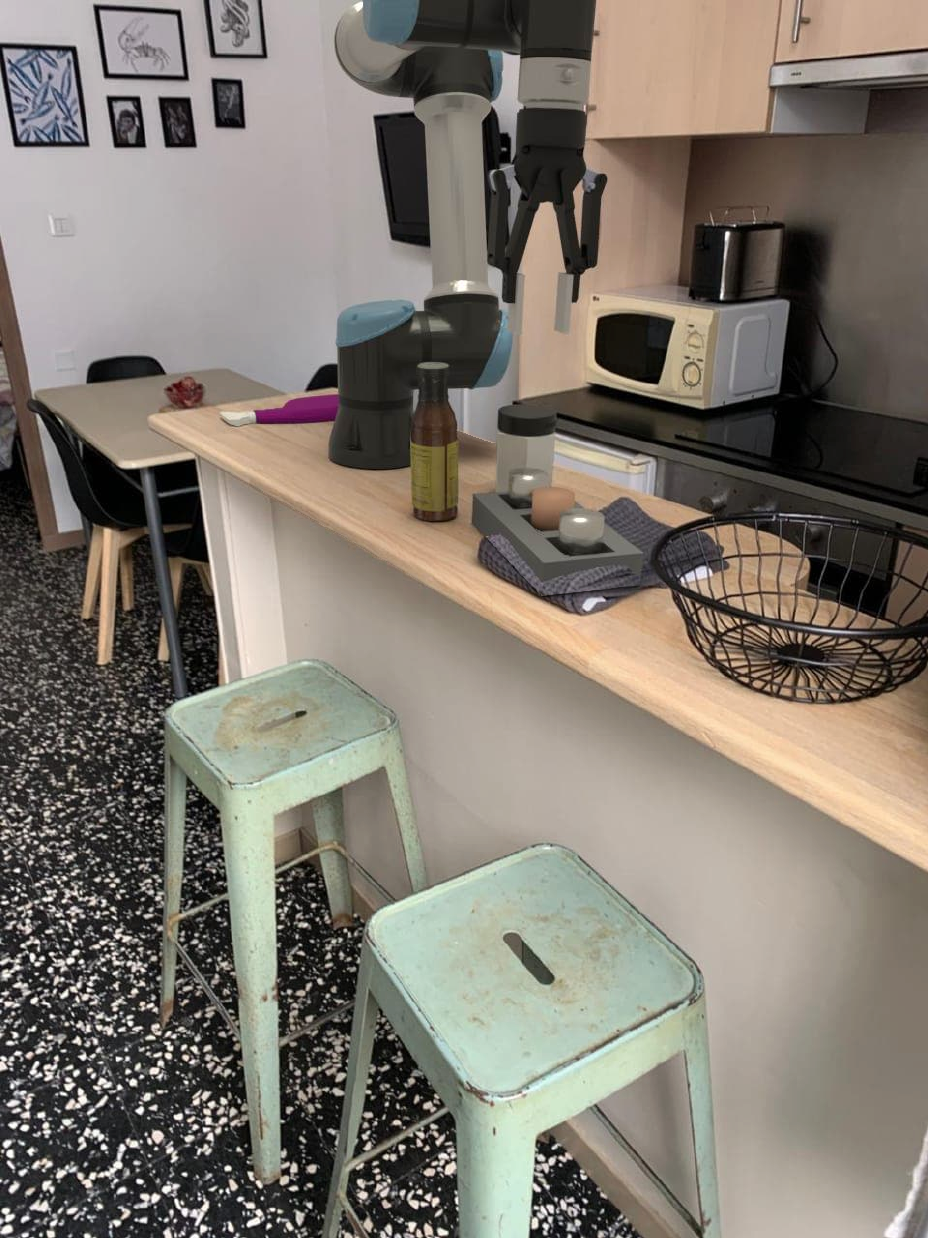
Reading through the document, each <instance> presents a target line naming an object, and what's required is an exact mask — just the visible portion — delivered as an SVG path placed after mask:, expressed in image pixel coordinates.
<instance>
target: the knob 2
mask: <svg viewBox="0 0 928 1238" xmlns="http://www.w3.org/2000/svg"><path fill="white" fill-rule="evenodd" d="M605 517H606V516H605V514H603V513H602V512H600V511H598V510H596V509H589V508H585V507H584V508H571V509H566V510H563V511H561V512H560V516H559V528H558V541H557V549H558V550H559V551H560V552H561V553H563V554H565V555H569V556H581V555H591V554H600V553H601V549H602V539H603V529H604V523H605Z"/></svg>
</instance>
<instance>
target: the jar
mask: <svg viewBox="0 0 928 1238" xmlns="http://www.w3.org/2000/svg"><path fill="white" fill-rule="evenodd" d="M496 421H497V426H496V427H497V430H496V431H497V434H496V455H495V456H496V457H495V474H494V475H495V477H494V492H506V491H508V485H509V472H510V471H511V470H514V469H518V468H534V469H540V470H543V471H546V472H547V473H548V474H549V481H548V487H553V486H552V485H553V473H554V472H553V471H554V462H555V446H556V443H555V442H556V434H555V431H556V426H557V422H558V421H557V412H556V411H555V409H552V408H550V407H547V406H543V405H537V404H522V403H521V404H520V403H519V404H508V405H504V406H501V407H500V408H498V410H497V420H496Z"/></svg>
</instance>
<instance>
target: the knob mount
mask: <svg viewBox="0 0 928 1238" xmlns="http://www.w3.org/2000/svg"><path fill="white" fill-rule="evenodd" d="M471 502H472V503H471V505H472V506H471V524H472V525H473V527H475V529H477V531H479V533H480V534H481V535H482V536H483V537H484V538H485V537H486V536H491V535H499V534H501V535H502V536H503V537H505V538H506V539H507V540H508V541H509V542H510V544H511V545H512V546H513V548H514V549H515V550H516V552H517V553H518V554H519V556H520V557H521V558H522V560H523V561H525V563H527V565H528V566H529V567H530V568H531V569H532V570H533V572H534V573H535V575H536V576H537V577H538V578H539V579H540V581H541V582H542V583H543V582H545V581H548V580H550V579H552V578H556V577H559V576H562V575H563V576H564V575H569V574H572V573H575V572H577V571H583V570H588V569H591V568H592V569H593V568H596V567H602V566H609V565H612V566H613V565H625V566H629V567H630V568H631V569H630V570H632V571H630V572H632V573H630V574H635V575H636V576H639V577H641V578H642V572H643V571H642V570H643V563H644V552H643V551H642V550H641V549H639V548H638V547H636V546H635V545H634V544H633V543H631V542H630V541H629V540H627V538H625V537H624V536H622V535H620V533H618V532H617V531H616V530H614V529H613V528H612V527H610V526H609V525H608V524H606V523H605V522H604V529H603V539H602V549H601V553H600V554H591V555H581V556H570V557H565V556H564V555H563V554H562V553H561V552H560V551H559V550H558V549H557V541H558V530H553V531H542V532H538V531H537V530H536V529H535V528H533V527H532V526H531V512H532V508H529V509H515V508H512V507H510V506H509V505H508V491H506V492H495V491H494V492H482V493H479V492H478V493H472V501H471ZM574 508H585V507H584V506H583V505H582V504H580V503H579V502H578V501H576V500H575V501H574Z"/></svg>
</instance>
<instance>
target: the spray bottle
mask: <svg viewBox="0 0 928 1238" xmlns="http://www.w3.org/2000/svg"><path fill="white" fill-rule="evenodd" d="M337 411H338V393H336V394H325V395H322V394H321V395H311V396H304V397H297V398H293V399H289V400H288V401H286V403H284V405H283V407H275V408H265V409H255V410H252V411H248V410H247V411H241V412H235V411H234V412H233V411H224V410H223V411H220V413H219V416H220V417H221V419H222V420H224V421H225V422H226V423H227V424H229V425H231V426H235V427H238V428H239V427H241V426H242V425H248V424H249V425H250V424H308V423H309V424H310V423H325V422H333V421H334V422H335V418H336V415H337Z"/></svg>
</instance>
